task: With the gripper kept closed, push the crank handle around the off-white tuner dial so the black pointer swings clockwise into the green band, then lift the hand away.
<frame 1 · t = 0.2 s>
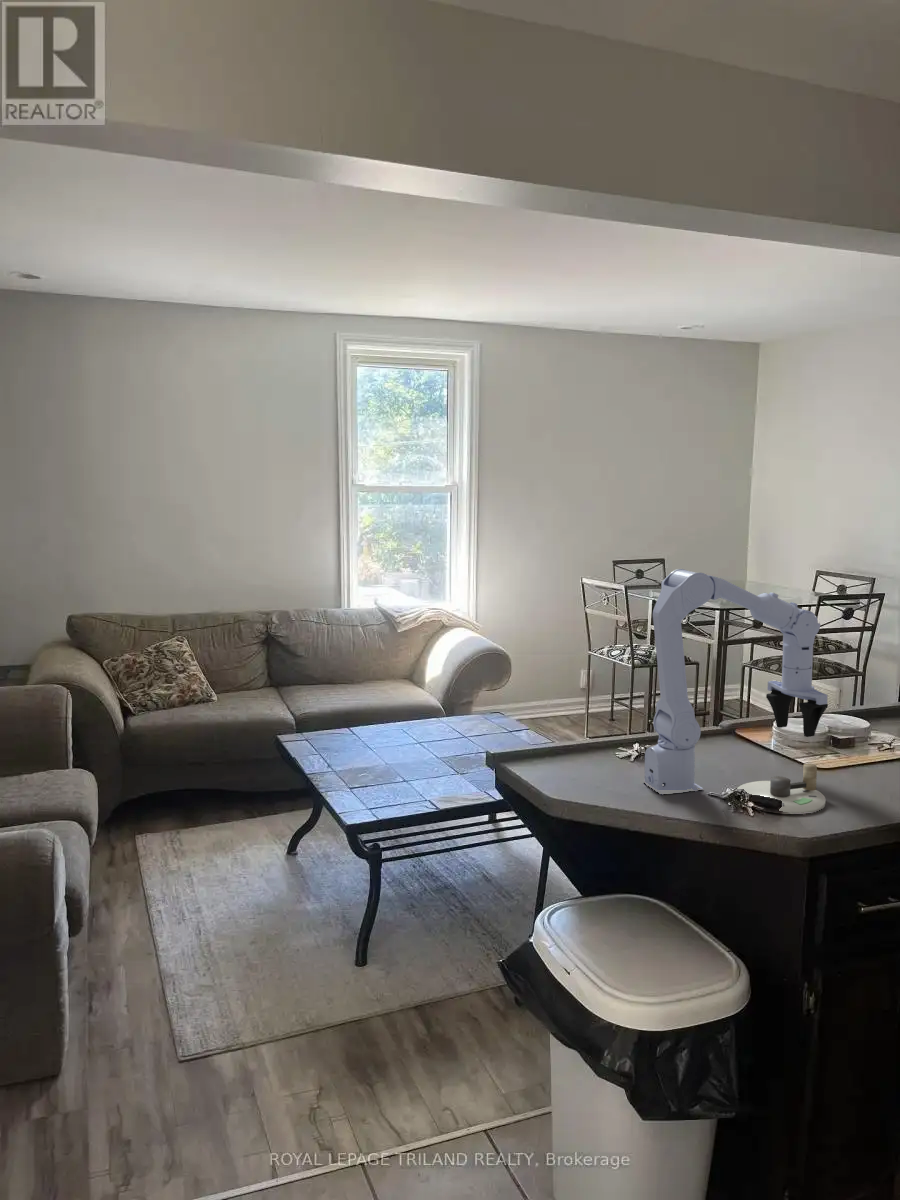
hand: (795, 731, 178), 10 cm above the worktop, tool pointing down, fingers open, 7 cm apart
dial plate: (780, 799, 166), on the worktop
crank handle: (793, 779, 166), point 4 cm above the worktop, hinge at 0.0°
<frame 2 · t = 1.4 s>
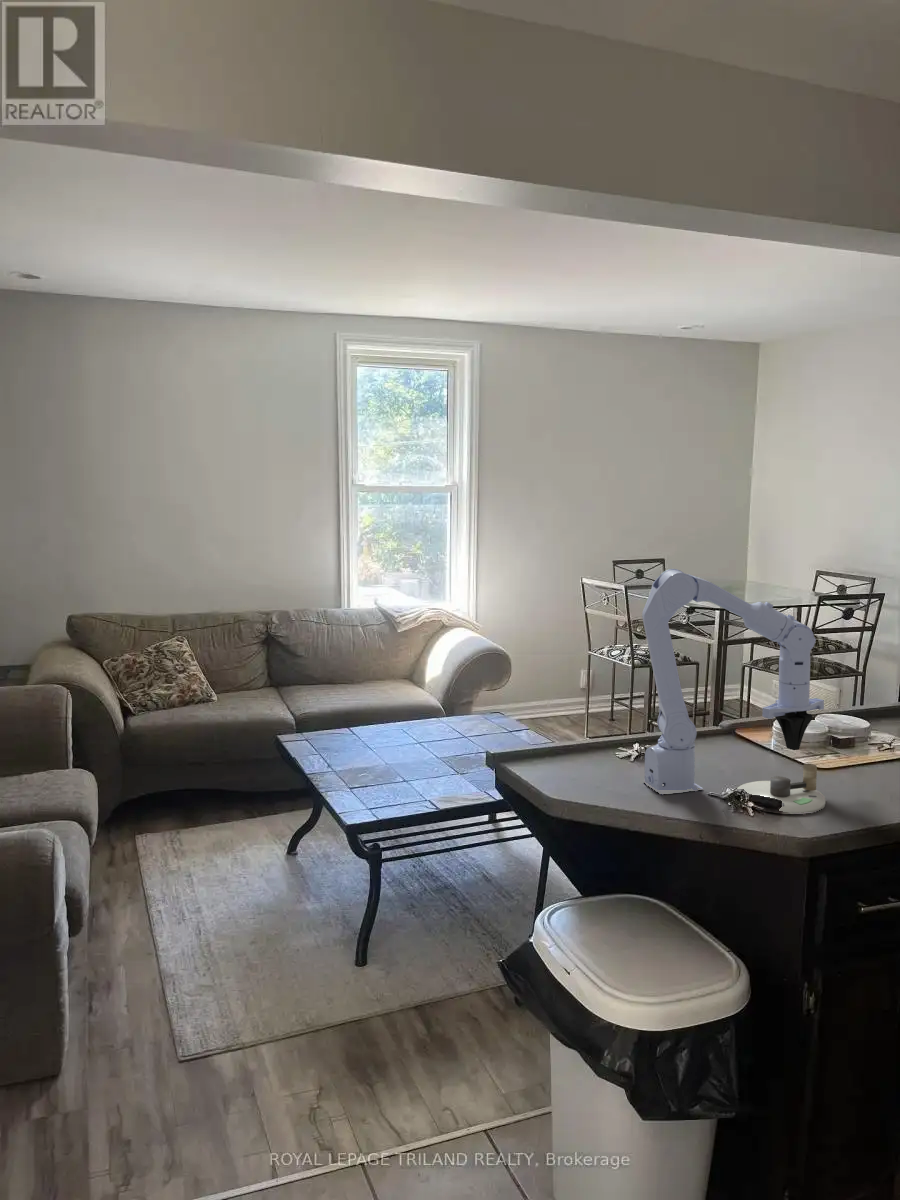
hand: (792, 748, 172), 8 cm above the worktop, tool pointing down, fingers closed
nothing on the worktop moved.
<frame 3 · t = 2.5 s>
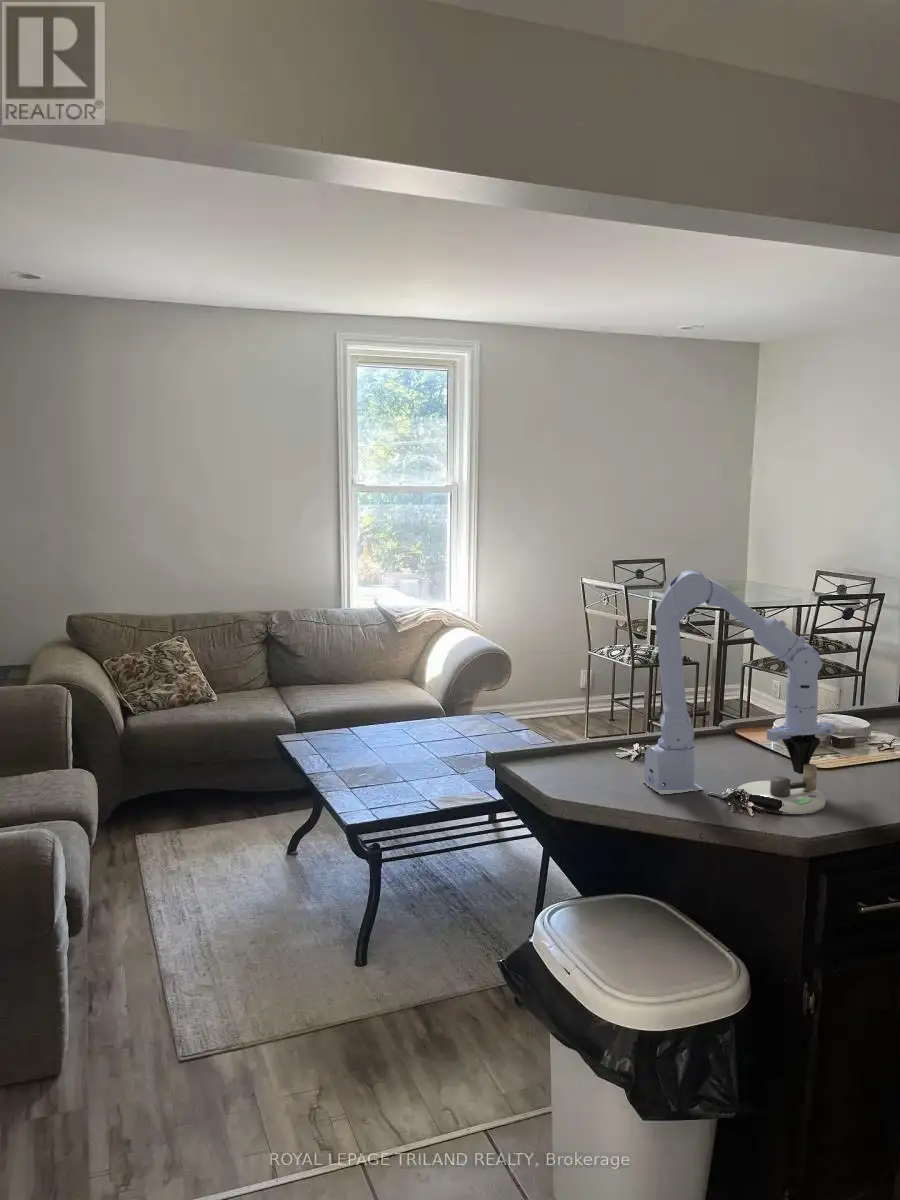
hand: (799, 772, 169), 4 cm above the worktop, tool pointing down, fingers closed, pressing on crank handle
crank handle: (793, 779, 166), point 4 cm above the worktop, hinge at 0.0°, touching gripper
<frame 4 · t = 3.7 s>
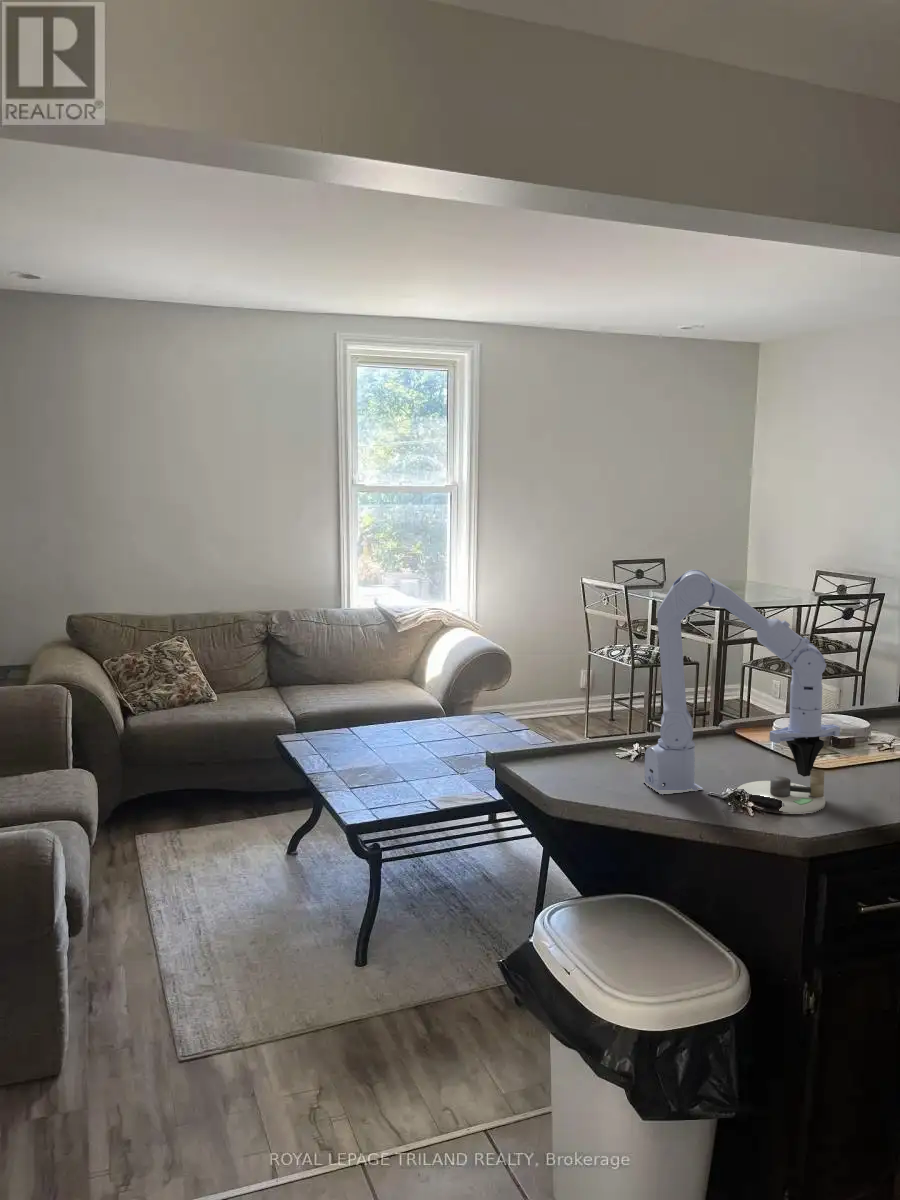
hand: (803, 774, 168), 4 cm above the worktop, tool pointing down, fingers closed
crank handle: (796, 782, 164), point 4 cm above the worktop, hinge at -32.8°
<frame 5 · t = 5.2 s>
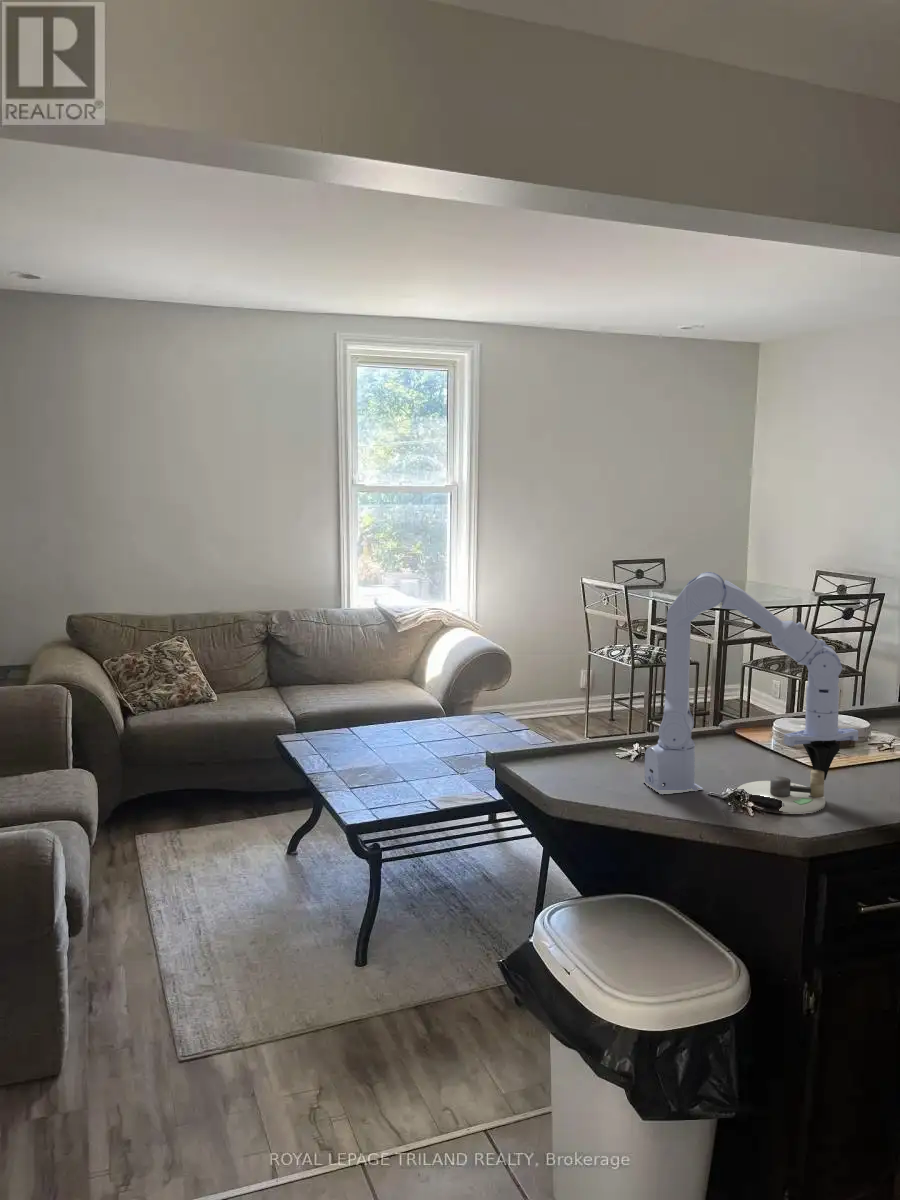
hand: (820, 778, 165), 4 cm above the worktop, tool pointing down, fingers closed, pressing on crank handle
crank handle: (796, 782, 164), point 4 cm above the worktop, hinge at -33.6°, touching gripper
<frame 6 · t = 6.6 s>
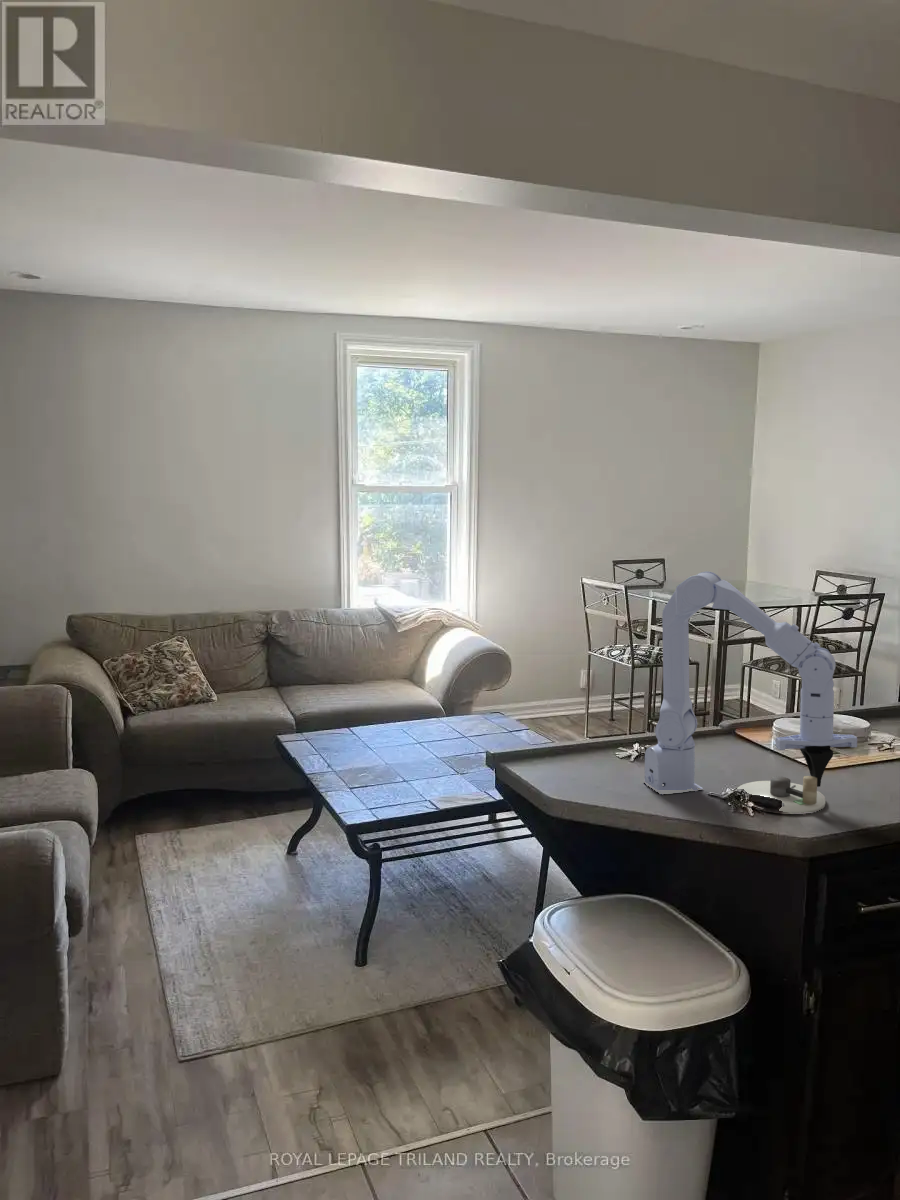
hand: (815, 785, 162), 4 cm above the worktop, tool pointing down, fingers closed
crank handle: (793, 785, 163), point 4 cm above the worktop, hinge at -73.5°, touching gripper
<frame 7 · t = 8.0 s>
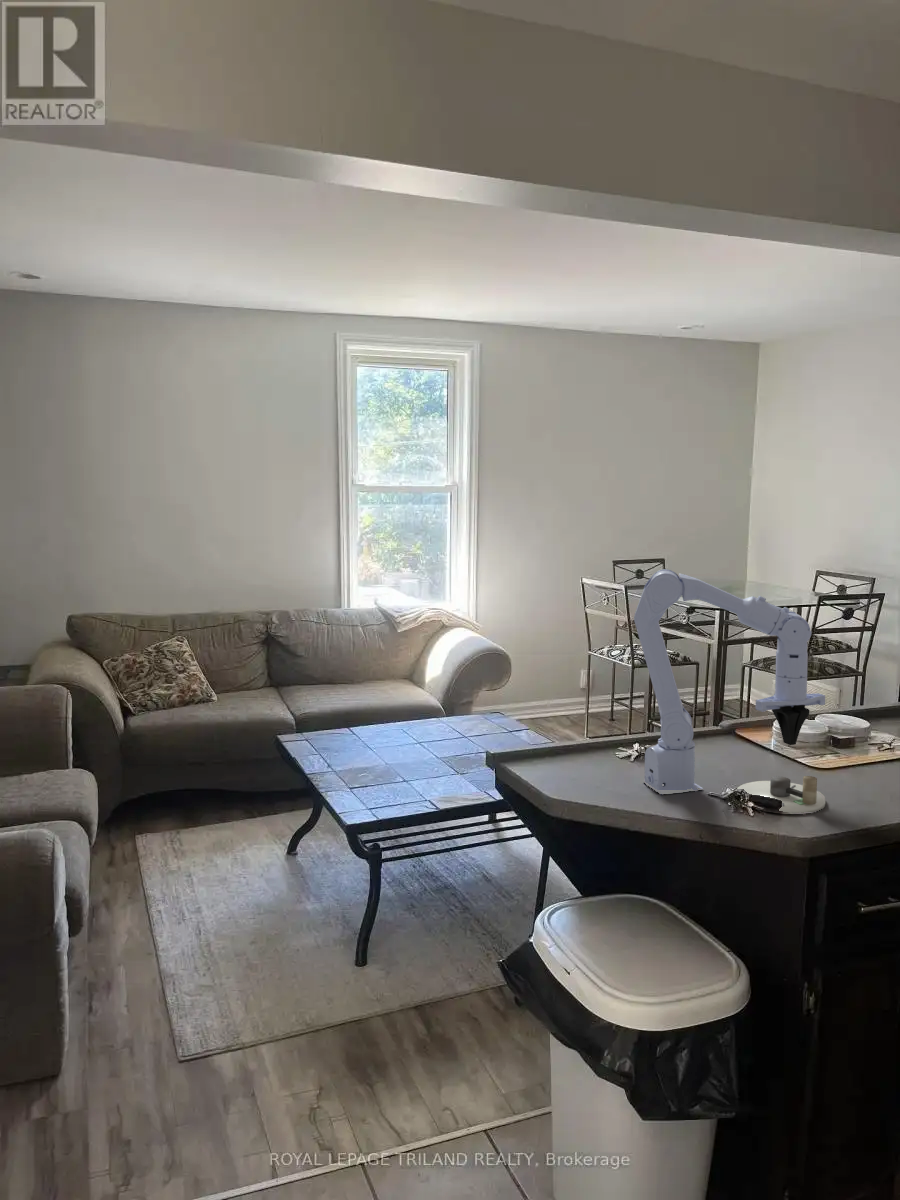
hand: (789, 743, 168), 10 cm above the worktop, tool pointing down, fingers closed
crank handle: (793, 785, 163), point 4 cm above the worktop, hinge at -73.7°
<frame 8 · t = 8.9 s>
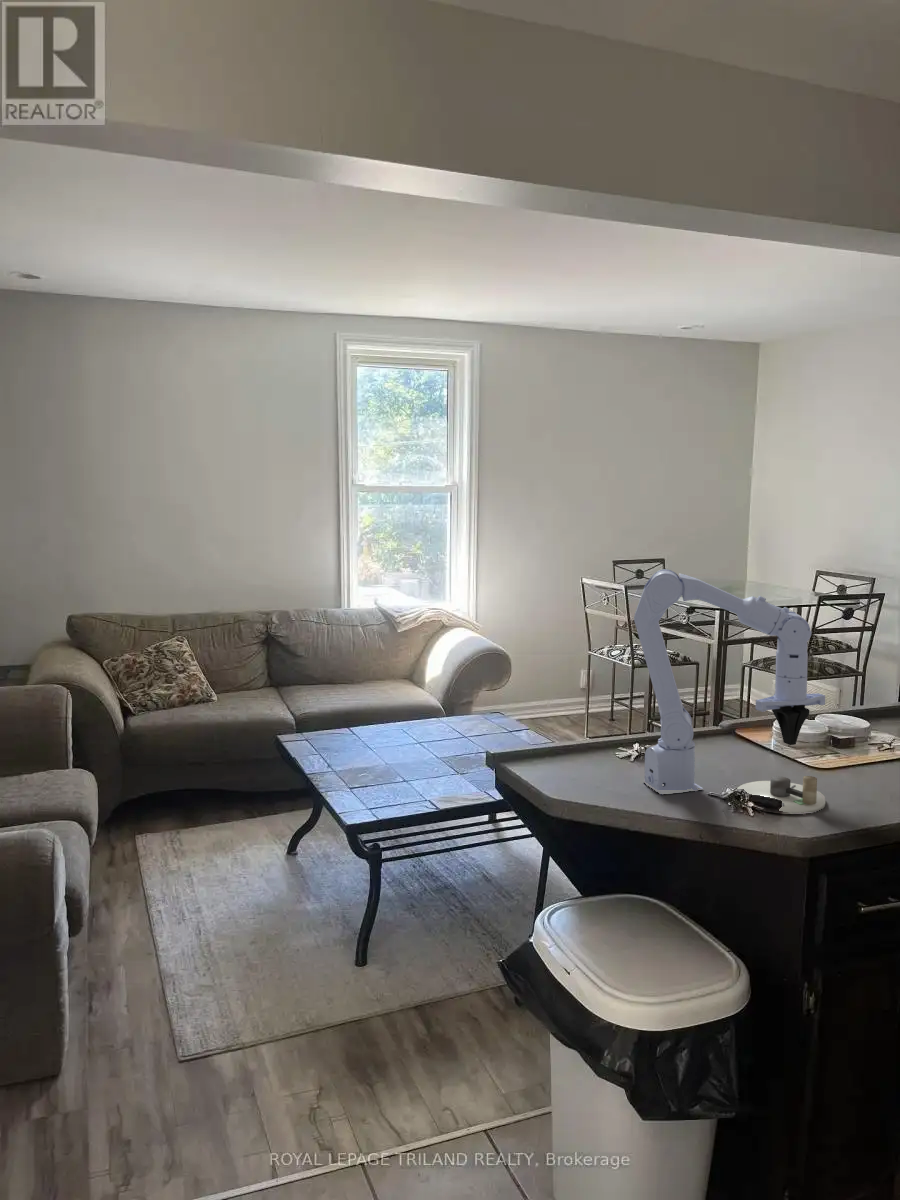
hand: (789, 743, 168), 10 cm above the worktop, tool pointing down, fingers closed
nothing on the worktop moved.
at the end: crank handle at -74° (first picture: +0°) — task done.
